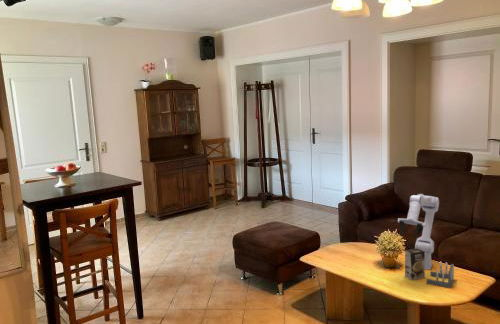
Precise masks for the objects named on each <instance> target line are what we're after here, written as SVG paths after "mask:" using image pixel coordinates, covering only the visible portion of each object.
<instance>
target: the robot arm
mask: <svg viewBox="0 0 500 324" xmlns="http://www.w3.org/2000/svg"><path fill="white" fill-rule="evenodd" d="M439 206H440V199H439V197H436V196H432V195H424V193H417V195H415V194H413V195H412V194H411V196H409V209H408V211H407V217H406V218H402V217H401V218H399V217H398V218H397V223H398V224H399V227H400V230H399V232H400V233H399V234H400V236H403V232H404V229H405V226H406V225H407V224H408V225H413V226H416V227H415V228H416V230H415V233H414V238H415V239H416V241H415V244H414V249H417V248H418V249H420V250H422V251H424V252H425V270H431V268H432V267H433V265H434V263H432V254H433V253H434V250H435V241H434V240H433V239H432V238H431V236H432V235H431V234H432V229H433V223H434V218H435V213H438V211H439ZM421 208H422V211H424V212H425V215H424V221H419V216H420V211H421ZM405 224H406V225H405ZM421 231H422V233H421ZM420 233H421V236H420V237H418V236H419V234H420Z"/></svg>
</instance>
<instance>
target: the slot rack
mask: <svg viewBox="0 0 500 324" xmlns="http://www.w3.org/2000/svg"><path fill="white" fill-rule="evenodd" d="M442 264H443V262H442V261H439V268H436V271H430V272H429V273H430V274H429V275H430V277H433V278H436V279H429V278H426V285H431V286H438V287H442V288H448V289H452V285H453V282H454V279H455V277H454V276H455V266H454V265H455V264H454V263H451V264H450V266H449V268H448V262H445V269H443V265H442ZM439 279H441V280H439ZM445 279H446V280H447V281H445Z"/></svg>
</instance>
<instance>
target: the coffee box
mask: <svg viewBox="0 0 500 324" xmlns="http://www.w3.org/2000/svg"><path fill="white" fill-rule="evenodd" d="M404 254H405V255H404V277H406V278H407V279H409V280H410V281H415V280H422V279H425V277H426V276H425V272H426V271H425V270H426V269H425V252H424V251H422V250H420V249H418V248H417V249H415V248H414V249H413V248H412V249H406V250H404Z"/></svg>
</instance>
